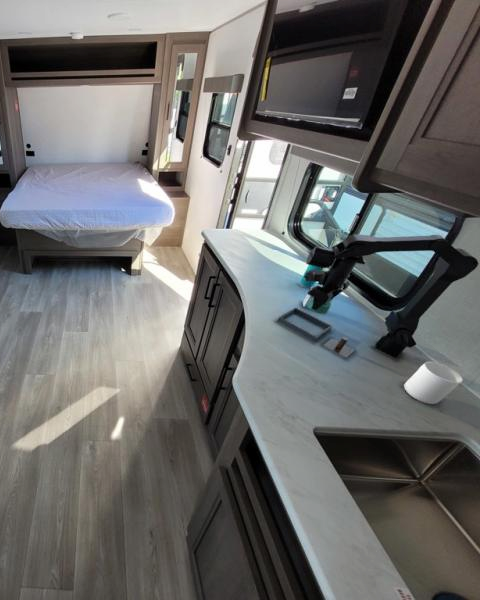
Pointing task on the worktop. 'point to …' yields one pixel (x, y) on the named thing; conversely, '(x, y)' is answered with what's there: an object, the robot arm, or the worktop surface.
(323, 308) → the ring
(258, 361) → the worktop surface
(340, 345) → the stand
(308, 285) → the beverage can
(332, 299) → the medicine box
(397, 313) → the robot arm
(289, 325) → the tray
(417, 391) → the mug
